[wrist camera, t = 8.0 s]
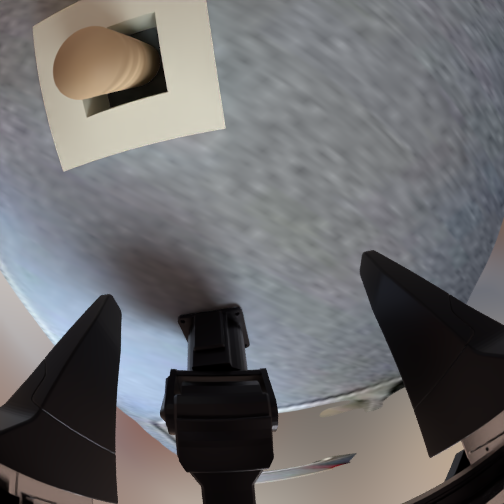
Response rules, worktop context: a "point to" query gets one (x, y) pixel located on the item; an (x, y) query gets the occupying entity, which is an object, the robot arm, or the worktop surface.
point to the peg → (102, 63)
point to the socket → (144, 109)
